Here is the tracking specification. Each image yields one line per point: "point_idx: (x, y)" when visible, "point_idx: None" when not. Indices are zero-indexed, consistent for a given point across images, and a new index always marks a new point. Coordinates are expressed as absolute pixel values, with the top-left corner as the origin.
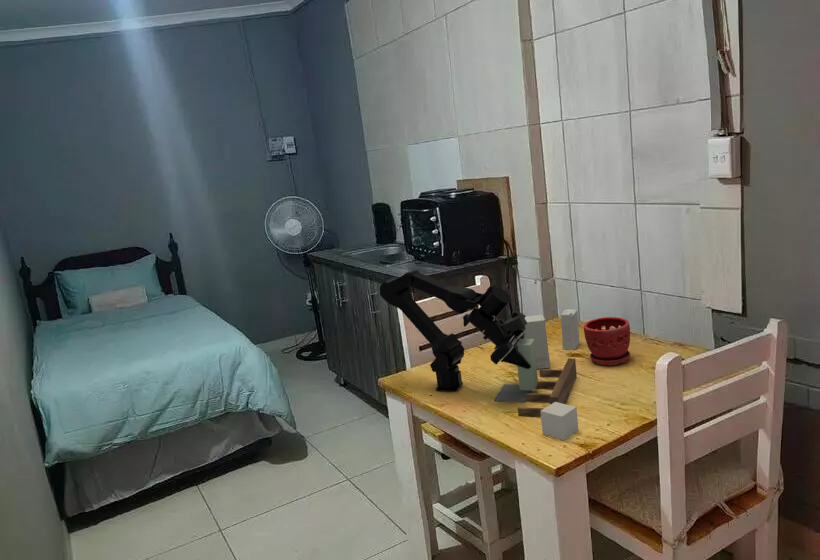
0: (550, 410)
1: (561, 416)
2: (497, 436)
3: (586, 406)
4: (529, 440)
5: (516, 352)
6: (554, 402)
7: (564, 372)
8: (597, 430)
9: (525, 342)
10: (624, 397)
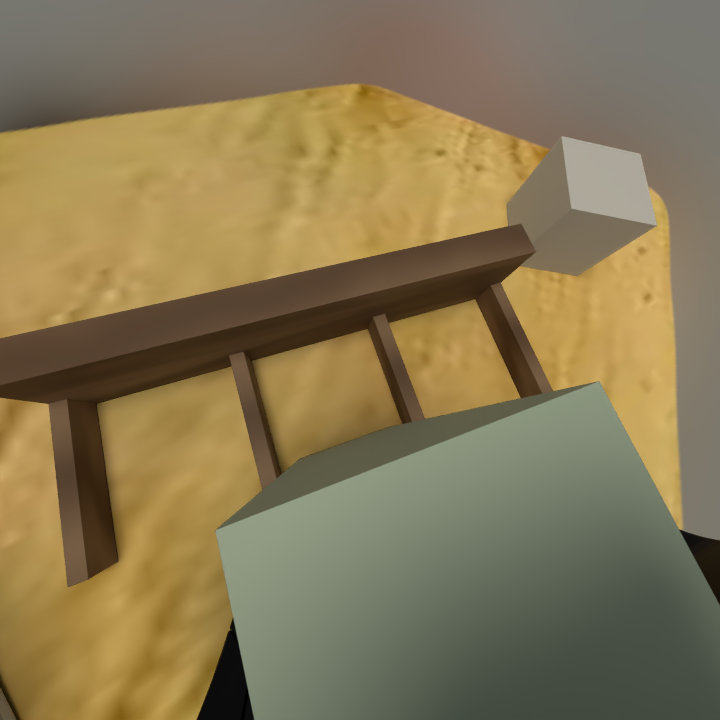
0: (632, 198)
1: (639, 155)
2: (669, 383)
3: (362, 233)
4: (625, 290)
5: (716, 541)
6: (576, 209)
7: (246, 307)
8: (482, 165)
9: (539, 585)
10: (249, 156)
